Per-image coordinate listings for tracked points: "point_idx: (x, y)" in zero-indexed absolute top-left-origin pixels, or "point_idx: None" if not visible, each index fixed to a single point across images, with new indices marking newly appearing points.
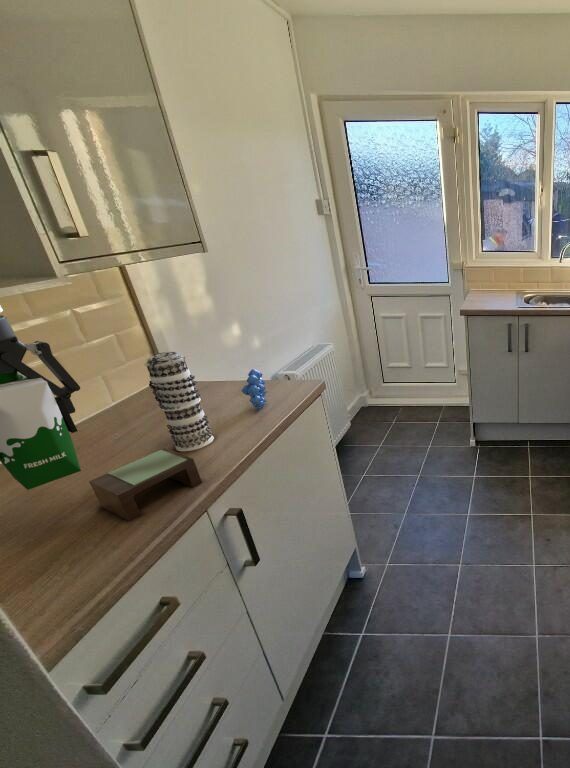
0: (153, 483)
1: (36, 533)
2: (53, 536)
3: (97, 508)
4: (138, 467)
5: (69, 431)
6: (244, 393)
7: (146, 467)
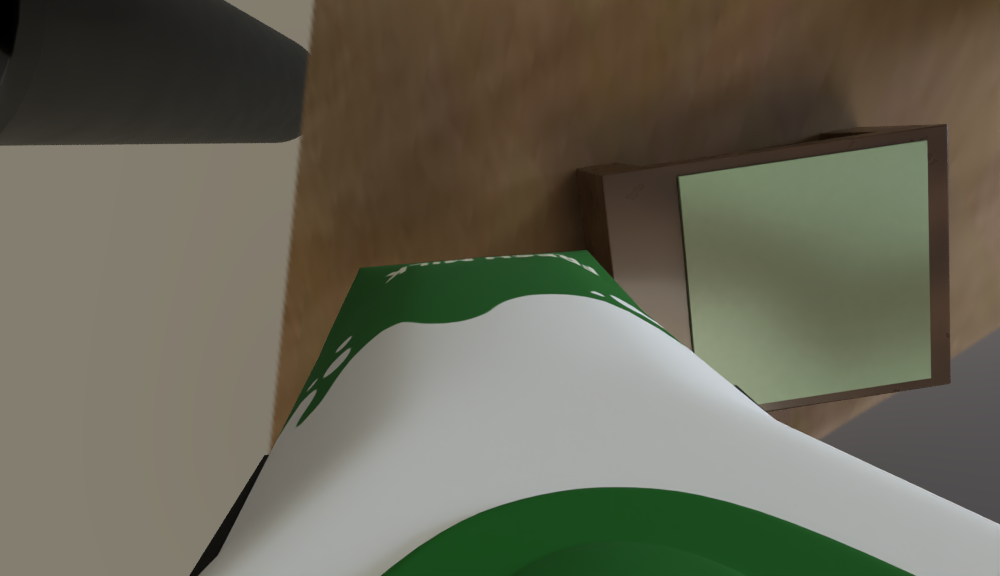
0: None
1: (376, 156)
2: (411, 239)
3: (562, 168)
4: (780, 252)
5: None
6: None
7: (799, 290)
